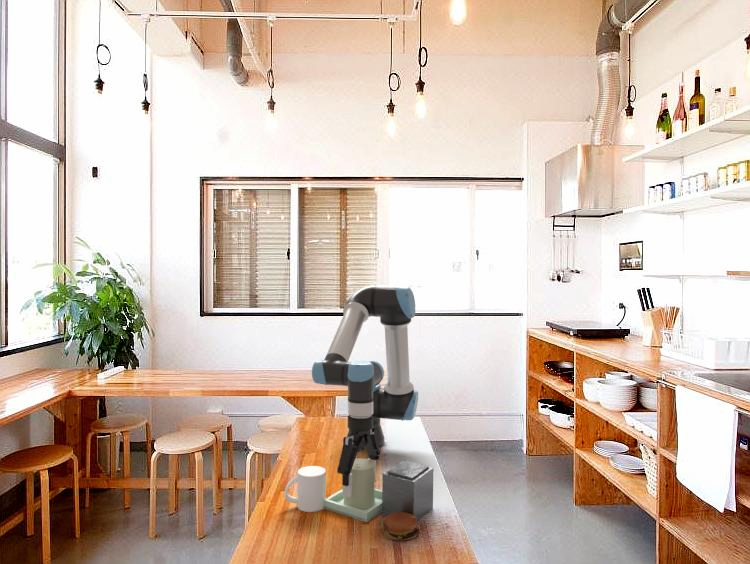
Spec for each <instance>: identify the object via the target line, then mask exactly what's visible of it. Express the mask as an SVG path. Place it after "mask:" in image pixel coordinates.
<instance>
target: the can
mask: <svg viewBox="0 0 750 564" xmlns="http://www.w3.org/2000/svg"><path fill="white" fill-rule="evenodd" d="M369 459H370V458H369ZM369 459H368V458H362V457H361V458H360V457H359V458H357V457H356V458H355V461H354V464H353V467H352V470H351V472H350V473H351V474H352V497H347V496H344V505H347V506H351V507H354V508H357V509H360V510H363V509H368V508H370V507H372V506H373V505H374V504H375V496H374V488H375V483H376V482H375V463H374V462H373V461H372V460H369ZM347 470H348V469H347ZM375 489H376V488H375Z"/></svg>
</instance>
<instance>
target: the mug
mask: <svg viewBox="0 0 750 564" xmlns="http://www.w3.org/2000/svg"><path fill="white" fill-rule="evenodd" d="M326 479H327V471H326V469H325V468H324V467H323V466H318V465H308V466H303V467H301V468H299V469H298V470H297V475H296V476H294V477H292V478H291V479H290V480H289V481H288V483H287V484H286V486H285V488H284V492H283V494H284V497H285V499H286V501H288V502H290V503H293V504H296V507H297V508H298V510H299V511H302V512H305V513H315V512H319V511H321V510H324V500H325V499H326V498H327V497H326V495H327V491H326V490H327V485H326V484H327V481H326ZM296 483H297V485H296V486H297V488H296V489H297V491H296V492H297V494H296V495H297V496H292V495H290V493H289V489H290V487H292V485H293V484H296Z"/></svg>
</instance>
